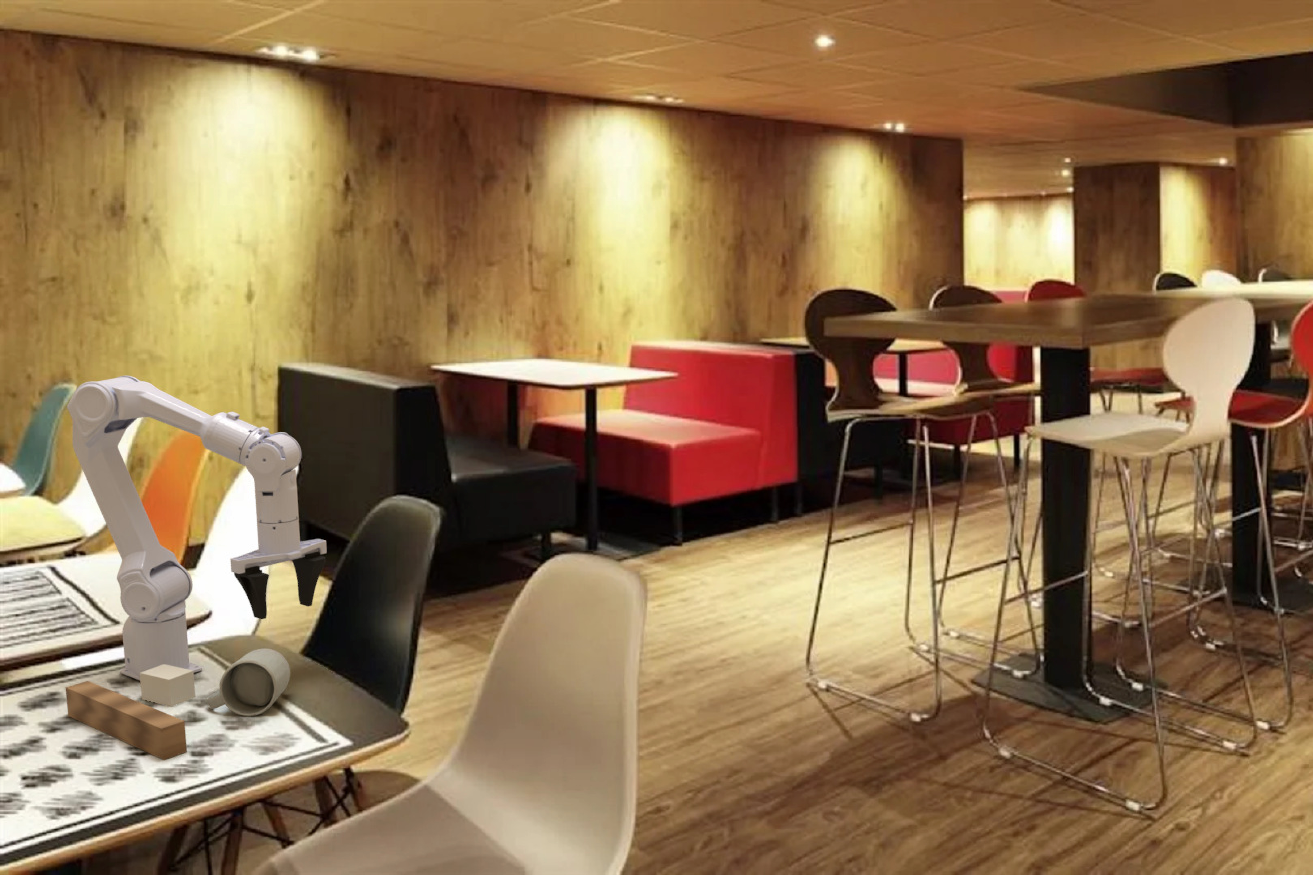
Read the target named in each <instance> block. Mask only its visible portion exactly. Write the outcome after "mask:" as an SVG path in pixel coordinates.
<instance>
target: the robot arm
mask: <svg viewBox="0 0 1313 875" xmlns="http://www.w3.org/2000/svg"><path fill="white" fill-rule="evenodd" d="M66 409H67V411H68V413H69V415H70V417H71V419H72V448H73V452H74V453H75V456H76V459H77V460H78V463H79V465H80V467H81V469H82V472H83V475H84V476H85V478H86V481H87V483H88V486H89V487H90V490H91V492H92V494H93V497H94V499H95V501H96V502H95V503H96V504H97V506H98V508H99V511H100V513H101V515H102V516H103V520H104V522H105V524H106V527H107V529H108V531H109V533H110V535H111V538H112V540H113V542H114V545H115V547H116V550H117V552H118V553H119V555H120V558H121V564H120V565H119V569H118V572H117V574H116V575H117V576H116V580H117V582H118V585H119V588H120V589H119V590H120V597H119V598H120V605H121V607H122V609H123V611H124V612H125V613H126V614H127V615H128V617H127V618H126V619H125V621H124V624H123V627H122V631H121V632H122V642H123V655H124V666H125V667H123V668H121V669H119V674H123V675H125V676H128V677H130V678H132V679H135V680H137V681H140V673H141V672H144V671H146V670H149V669H152V668H155V667H158V666H160V665H163V664H166V665H170V666H175V667H179V668H184V669H188V670H192V671H193V673H194V674H195V673H198V672H200V671H202V670H203V666H200V665H198V664H195V663H192V662H190V653H189V642H188V631H187V630H188V629H187V628H188V626H187V617H186V616H187V615H186V601H187V599H188V598H189V597H190V596H191V594H192V592H193V586H194V585H193V579H192V576H191V574H190V573H189V571H188V570H187V569H186V568H185V567H184V566H183V565H181V563H179V561H178V559H177V557H176V554H175V553H174V552H173V551H171V550H169V549H168V548H167V547H164V546H163V545H161V543H160V541H159V539H158V536H157V534H156V532H155V530H154V528H153V524H152V523H151V520H150V518H149V516H148V513H147V512H146V509H145V506H144V505H143V502H142V500H141V498H140V495H139V493H138V490H137V489H136V486H135V483H134V482H133V479H132V477H131V474H130V472H129V470H128V468H127V466H126V463H125V461H124V459H123V456H122V454H121V452H120V450H119V444H120V443H121V440H122V438H123V437H124V435H125V433H126V430H128V428H129V427H130V426H131V425H132V424H133V423H134V422H136V420H137V419H140V418H150V419H152V420H155V421H158V422H161V423H163V424H165V425H168V426H171V427H173V428H176V429H179V430H182V431H183V432H187V433H190V434H192V435H194V436H198V437H199V438H200V440H201V443H202V446H203V448H205V449H206V450H208V451H211V452H213V453H215V454H217V455H219V456H222V457H224V458H226V459H228V460H231V461H233V462H236V463H237V464H240V465H241V466H244V467H246V469H247V471H248V472H249V474H250V475H251V476H252V478H253V481H254V482H253V484H254V494H255V495H254V498H255V510H256V512H255V515H256V531H257V532H256V533H257V543H258V544H257V545H258V547H257V549H255V550H252V551H250V552H247V553H245V554H241V555H239V556H236V557H231V558H230V571H231V573H233V574H234V578H236V580H237V581H238V583H239V584H240V586H241V587H242V589H243V591H244V593H245V596H246V598H247V599H248V602H249V605H250V607H251V610H252V614H253V617H254V618H256V619H259V620H264V619H267V614H268V610H267V608H268V607H267V606H268V605H267V589H268V588H267V587H268V583H269V582H268V581H269V577H270V575H269V573H265V572H263V569H261V568H264V567H267V566H268V567H269V566H271V565H273V566H274V565H276V564H280V563H286V562H289V561H292V563H293V567H294V571H295V575H296V580H297V590H298V591H297V592H298V595H297V596H298V600H299V605H302V606H305V607H312V606H313V602H314V596H315V591H316V587H317V584H318V580H319V577H320V575H321V573H322V571H323V569H324V567H325V566H326V561H327V560H326V556H323V555H324V554H327V548H328V547H327V540H324V539H321V538H315V539H308V540H303V541H302V540H301V536H300V535H301V534H300V522H299V521H300V517H299V516H300V515H299V503H298V500H299V498H298V485H297V484H298V483H297V469H296V468H297V467H298V466H299V464H300V462H301V459H302V449H301V446H300V444H299V443H298V441H297V440H296V439H295V438H294V437H292V435H289V434H288V433H287V432H281V431H280V432H275V433H270V428H268V427H265V426H261V427H258V426H256V425H253V424H252V423H249V422H247V421H245V420H242V419H239V418H240V414H239V413H237V412H235V411H229V412H227V413H226V412H225V411H222V412H217V413H215V414H214V415H210V414H209V413H207V412H205V411H203V410H200V409H198V408H196V407H195V406H193V405H191V404H189V403H188V402H187V403H186V402H185V401H183V400H181V399H179V398H177V397H175V396H173V395H171V394H169V393H167V392H165V391H163V390H161V389H159V388H157V387H156V386H154V385H153V384H152V383H150V382H147V381H144V380H140V379H138V378H137V377H134V376H131V375H120V376H118V377H117V376H116V377H114V378H108V379H103V380H99V381H95V380H94V381H93V380H91V381H86V382H83V383H82V384H80V385H79V386H78V387H77V388H76V389H75V390H74V392H73V394H72V396H71V398H70V400H69V402H68V404H67V406H66Z"/></svg>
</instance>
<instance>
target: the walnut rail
mask: <svg viewBox="0 0 1313 875" xmlns="http://www.w3.org/2000/svg"><path fill="white" fill-rule="evenodd" d="M65 696H66V706H67V716H68V717H70V718H72V719H74V720H76V721H79V722H80V723H83V724H85V725H87V726H90V727H92V728H94V729H95V730H97V731H100V732H102V733H103V734H107V735H109V736H111V737H113V738H116V739H118V740H120V741H122V742H124V743H126V744H128V745H131V746H132V747H135V748H137V749H139V750H142V751H144V752H146V753H148V754H150V755H153V756H155V757H156V758H159V759H161V760H163V761H165V760H169V759H172V758H174V757H176V756H180V755H182V754H185V753H187V752H188V748H187V737H186V736H187V734H186V724H185V720H183V719H181V718H179V717H176V716H174V715H171V714H168V713H166V712H164V711H162V710H159V709H157V708H154V707H152V706H149V705H148V704H147V705H146V704H145V703H142V702H140V701H137V700H135V699H133V698H131V697H128V696H125V695H123V694H121V693H118V692H115V691H113V690H110V689H108V688H106V687H104V686H101V685H98V684H96V683H94V682H92V681H89V680H85V681H83V682H80V683H75V684H72V685H69V686H66V687H65Z"/></svg>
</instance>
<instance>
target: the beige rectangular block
mask: <svg viewBox="0 0 1313 875" xmlns="http://www.w3.org/2000/svg"><path fill="white" fill-rule="evenodd" d="M194 674H195V673H193V671H192V670H188V669H184V668H179V667H175V666H170V665H166V664H163V665H160V666H158V667H155V668H152V669H149V670H146V671H144V672H141V673H140V680H139V681H140V692H141V694H140V695H141V700H142V701H145V700H147V701H146V702H149V701H151V702H150V703H153V702H155V704H159V705H162V704H164V705H163V706H166V705H167V706H166V707H170V708H171V707H172V708H173V707H175V706H177V705H180V704H182V703H184V701H185V702H187V701H189V700H192V699H194V698H196V690H195V689H196V688H195V678H194V677H195V675H194ZM176 704H177V705H176ZM174 705H175V706H174Z"/></svg>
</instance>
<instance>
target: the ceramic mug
mask: <svg viewBox="0 0 1313 875" xmlns="http://www.w3.org/2000/svg"><path fill="white" fill-rule="evenodd" d="M290 678H291V667H290V665H289V662H288V660H287V659H286V658H285V657H284V655H283V654H282V653H280V652H279V651H277V650H275V649H273V648H268V647H267V648H264V647H263V648H258V649H253V650H252V651H249V652H247V653H246V654H245V655H244V656H242V657H241V658H240V659H238V660H236V661H235V662H233V663H232V664H231V665H230V666H228V667H227V669H226V670H225V671H224V672H223V674H222V676H221V678H220V681H219V689H217V690H216V691H214V692H213V693H212V694H210V695H209V696H207V698H206V699H205V701H206V703H207V705H208V707H209V708H210V710H214V709H217V708H220V707H223V706H226V707H227V709H228V710H230V711H231V712H233V713H234V714H236V715H239V716H242V717H243V716H244V717H255V716H259V715H261V714H263V713H265V712H266V711H268V710H269V709H270V708H271V707H272V706H273V704H274V703H275V702H276V701H277V700H278V699H279V697H280V696H281V695H282V693H283V692H285V690H286V689H287V687H288V684H289V682H290Z"/></svg>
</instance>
